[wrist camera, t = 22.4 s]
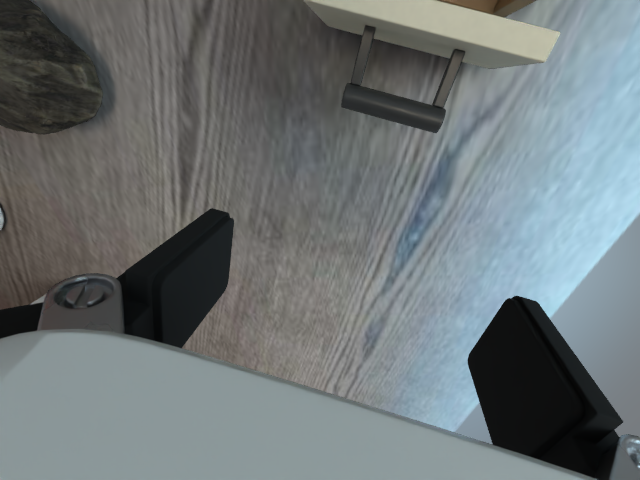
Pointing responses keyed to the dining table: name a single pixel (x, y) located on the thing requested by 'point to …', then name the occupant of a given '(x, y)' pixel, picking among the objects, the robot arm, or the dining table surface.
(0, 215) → the can
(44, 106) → the rock
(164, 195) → the dining table surface
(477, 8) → the drawer
